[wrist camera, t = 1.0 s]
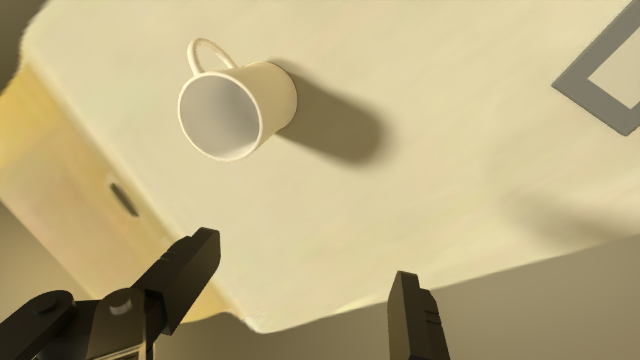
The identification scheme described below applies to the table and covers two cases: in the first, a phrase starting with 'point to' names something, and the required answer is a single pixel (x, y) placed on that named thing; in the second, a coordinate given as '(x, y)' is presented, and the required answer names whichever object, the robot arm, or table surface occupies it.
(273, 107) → the mug
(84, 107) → the table surface
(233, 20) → the table surface
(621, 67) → the pad
